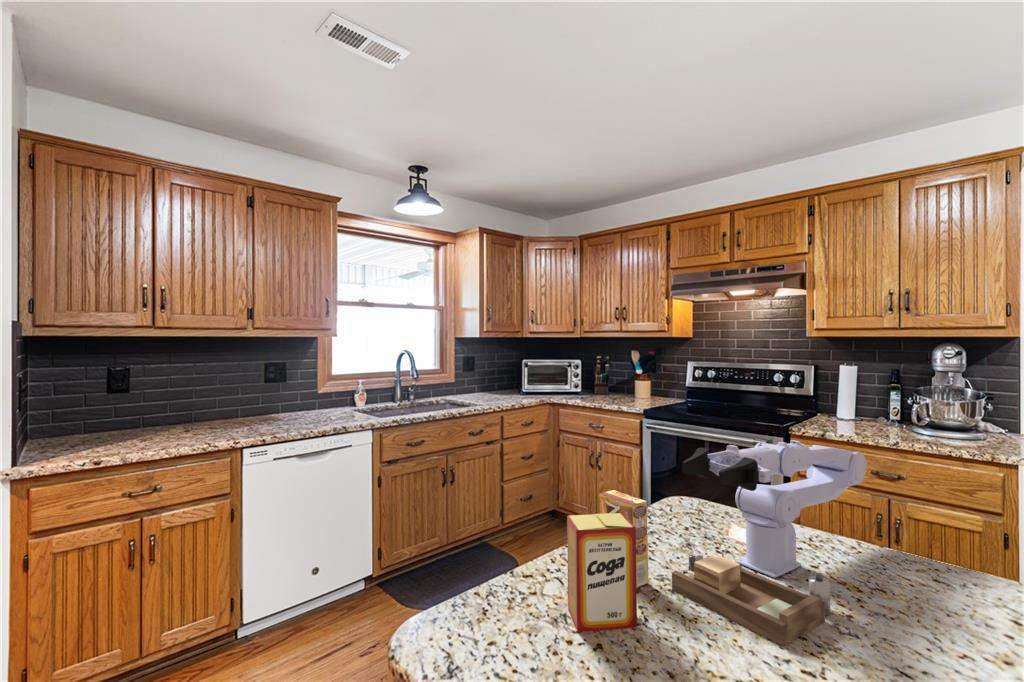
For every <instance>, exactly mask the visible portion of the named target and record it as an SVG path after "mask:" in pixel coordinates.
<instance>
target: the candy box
mask: <svg viewBox="0 0 1024 682" xmlns="http://www.w3.org/2000/svg"><path fill="white" fill-rule="evenodd" d="M598 496H599V514H608V513H622V514H623V515H624V516H625V517H626V518H627V519H628V520H629V521H630V522H631V523H632V524H633V525H634V526H635V527H636V589H637V588H641V586H644V585H645V586H646V584H649V546H648V545H649V543H648V542H649V541H648V540H649V539H648V537H649V535H648V501H647V500H644V499H641V498H639V497H636V496H632V495H630V494H626V493H623V492H620V491H618V490H614V489H613V490H608V491H604V492H600V493H599V494H598Z"/></svg>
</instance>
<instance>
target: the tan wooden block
mask: <svg viewBox="0 0 1024 682" xmlns="http://www.w3.org/2000/svg"><path fill="white" fill-rule="evenodd" d="M741 568H742V567H741V564H739V563H737V561H736V562H735V561H732V560H731V559H727V558H726V557H723V556H720V555H718V554H715V553H714V554H712V555H710V556H707V557H703V559H701V560H699V561H696V562H694V571H693V572H694V574H693V575H694V579H695V580H697V581H699V582H701V583H703V584H705V585H707V586H710V587H712V588H714V589H716V590H718V591H720V592H722V593H724V594H726V593H728V592H731V591H733V590H735V589H737V588H739V587H740V584H741V579H740V572H741Z"/></svg>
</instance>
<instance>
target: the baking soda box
mask: <svg viewBox="0 0 1024 682" xmlns="http://www.w3.org/2000/svg"><path fill="white" fill-rule="evenodd" d="M566 524H567V525H566V532H567V533H566V536H567V537H566V539H567V541H566V542H567V545H566V546H567V547H566V548H567V550H566V551H567V610H568V612H569V614H570V618H571V620H572V623H573V625H574V627H575V630H576V633H580V632H581V633H583V632H584V633H585V632H596V631H613V630H624V629H637V628H638V620H637V619H638V607H637V603H638V602H637V600H638V599H637V597H638V596H637V594H638V593H637V588H636V527H635V526H634V525H633V524H632V523H631V522H630V521H629V520H628V519H627V518H626V517H625V516H624V515H623V514H622V513H608V514H600V513H594V514H577V515H576V514H575V515H574V514H573V515H567V516H566Z"/></svg>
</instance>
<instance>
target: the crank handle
mask: <svg viewBox="0 0 1024 682" xmlns="http://www.w3.org/2000/svg"><path fill="white" fill-rule="evenodd" d="M701 559H704V555H701V554H697V556H696V555H694V554H689V555H688V571H693V572H694V562H696V561H699V560H701Z"/></svg>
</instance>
